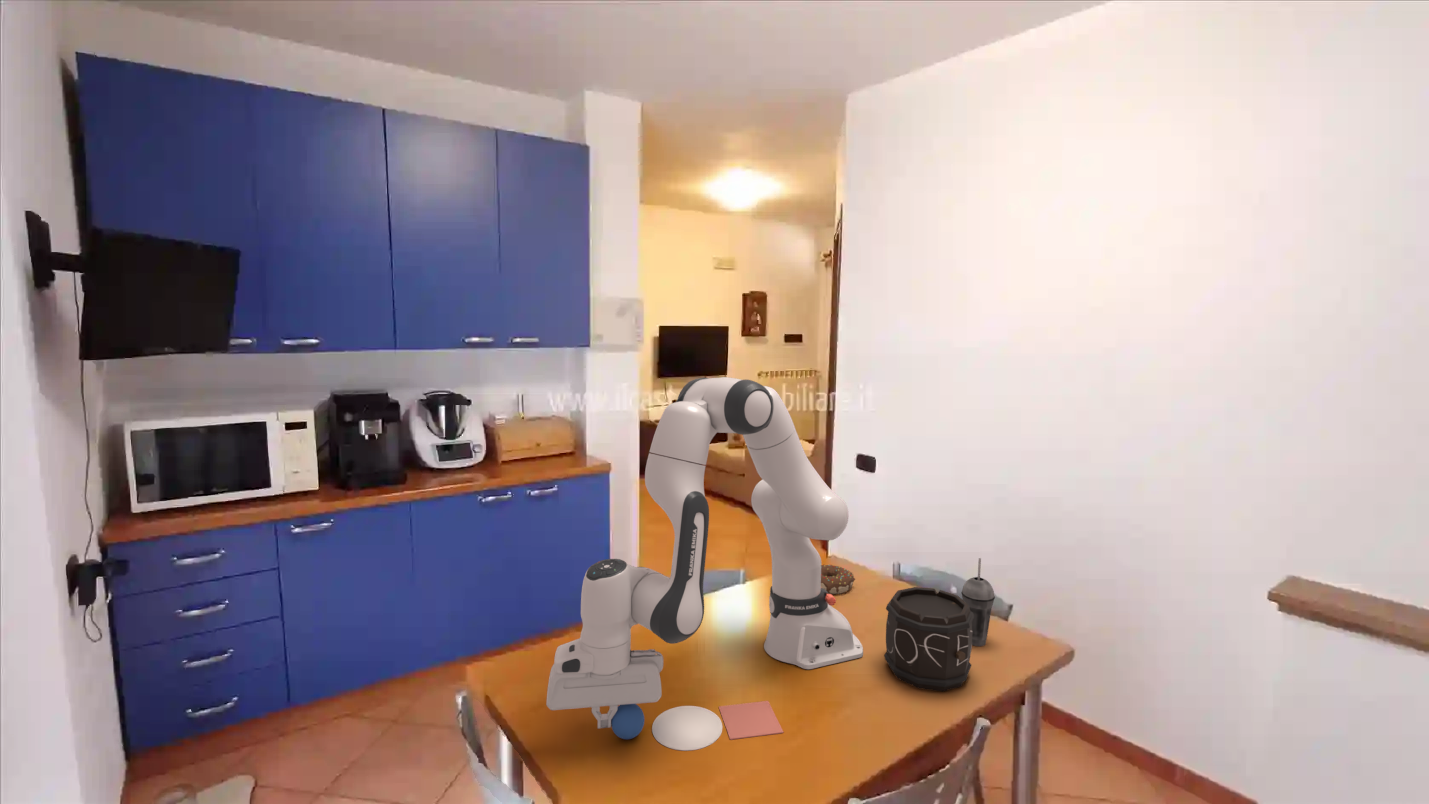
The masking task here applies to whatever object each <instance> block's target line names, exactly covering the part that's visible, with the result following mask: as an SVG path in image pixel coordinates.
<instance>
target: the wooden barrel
mask: <svg viewBox="0 0 1429 804" xmlns="http://www.w3.org/2000/svg"><path fill="white" fill-rule="evenodd" d="M885 609H886V611H887V618H886V624H885V649H886V652H885V654H884V655H883V657H884V660H885V662H886V663H887V664H888V667H889V668H890V670H891V671H892V673H893V674H894V676H895V677H896V679H897V680H900V681H902V682H904V683H905V684H908V685H909V686H913V687H914V688H916V689H919V690H920V689H921V690H925V691H926V690H928V691H934V692H936V691H937V692H946V691H949V690H953V689H956V688H960V687H962V686H963V683H964V682H966V681H967V678H968V676H969V674H970V673H969V672H970V670H971V667H972V664H971V661H970V659H971V654H972V647H973V645H972V621H973V618H974V614H973V612H971V611H970V607H969V605H968V604H967V603H966V602H964V601H963V599H962V598H961V597H960V596H959V595H957V594H954V593H951V592H949V591H945V590H941V589H939V591H938V592H937V590H936V589H935V588H931V587H930V588H929V587H920V586H913V587H907V588H903V589H899V590H897V591H896V592H895V593H894V595H893V596H892V597H891V598H890V600H889V602H888V603H887V604H886V607H885Z"/></svg>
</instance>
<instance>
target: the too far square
mask: <svg viewBox="0 0 1429 804" xmlns="http://www.w3.org/2000/svg"><path fill="white" fill-rule="evenodd" d="M718 709H719V711H720V714H721V718H722V720H723V723H724V726H725V728H726V733H727V735H728V738H729V740H731V741H732V740H740V739H746V738H755V737H762V736H770V735H778V734H784V730H783V728H782V726H781V724H780V722H779V720H778V718H777V716H776V714H775V712H774V710H773V707H772V706H771V703H770V702H769V700H764V701H763V700H762V701H755V702H746V703H744V702H743V703H737V704H729V705H720V706H718Z"/></svg>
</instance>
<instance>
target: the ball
mask: <svg viewBox="0 0 1429 804" xmlns="http://www.w3.org/2000/svg"><path fill="white" fill-rule="evenodd" d="M644 726H645V714H644V711H643V710H642V708H641V707H640V706H639V704H625V705H618V710H617V712H616V713H615V715H614V716H613V718H612V719H611V729H612V730H611V731H612V732H613V733H614V734H615V735H616V737H618V738H620V739H622V740H631V739H634V738H636V737H637V736H639V734H640V733H642V731H643V728H644Z"/></svg>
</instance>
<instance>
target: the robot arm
mask: <svg viewBox="0 0 1429 804" xmlns="http://www.w3.org/2000/svg"><path fill="white" fill-rule="evenodd" d="M789 412H790V411H789V410H788V408H787V406H786V404H785V403H784V401H783V400H782V398H781V396H780V395H779V393H778V392H777V391H776V390H775V389H774V388H773V387H771V386H768V385H767V386H766V385H762V384H761V383H759V382H756V381H755V380H751V379H740V378H736V377H726V376H723V377H710V378H709V377H698V378H695V379H692V380H690V381H688V382H687V383H686V384H685V385H684V386H683V387H682V388H681V390H680V392H679V394H678V397H677V399H676V401H675V402H673V403H671V404H669V405H668V406H666V407H665V409H664V410H663V412H662V415H661V417H660V419H659V421H658V424H657V426H656V429H655V431H654V435H653V438H652V441H651V444H650V449H649V452H648V456H647V459H646V465H645V471H644V485H645V487H646V490H647V492H648V494H649V496H650V497H651V499H653V501H654V502H655V503H656V504H657V505H658V506H659V507H660V508H661V509H662V510H663V511H664V512H665V514H666V515H667V517H668V519H669V520H670V522H671V524H672V527H673V532H674V541H673V542H674V543H673V552H672V560H671V561H672V562H671V570H670V571H671V572H670V577H669V576H666V575H664V574H663V573H661V572H658V571H656V570H654V569H652V568H649V567H644V566H634V565H631V564H629V563H627V562H626V561H625V560H623V559H620V558H608V559H607V558H606V559H602V560H599V561H597V562H595V563H593V564H591V566H589V567H588V568H587V570H586V572H585V575H584V577H583V580H582V587H581V594H580V598H581V599H580V617H581V623H582V629H581V632H580V637H579V638H576V639H574V640H571V641H569V642H566V643H563V644H560V645H558V646H557V648H556V651H555V655H554V659H553V660H554V662H553V664H552V666H551V669H550V672H549V678H548V685H547V689H546V690H547V692H546V693H547V694H546V707H547V708H548V709H549V710H550V711H561V710H563V711H564V710H572V709H573V710H574V709H583V708H584V709H587V708H591V714H592V715H593V717H594V718H595V719H596V720H597V729H605V728H607V729H608V728H612V726H611V719H612V718H613V716H614V715H615V713H616V712H617V710H618V706H619V705H625V704H636V705H639V704H647V703H650V704H651V703H657V702H659V700H660V699H661V698H662V693H663V692H662V681H661V676H660V673H661V672H662V671H663V669H664V656H663V654H662V653H661V652H659V651H657V650H656V649H653V648H649V649H643V650H642V649H634V650H631V639H632V638H631V637H632V627H634V626H636V625H640V626H641V627H644V628H645V629H647V630H649V631H651V632H652V633H653V634H654V635H655V636H657V637H659V639H661V640H663V642H665V643H667V644H672V645H675V644H679V643H681V642H684V641H686V640H687V639H689V638H690V637H692V636H693V635H694V634H695V633H696V632H697V631H698V630H699V628H700V627H701V624H702V623H703V619H704V614H705V598H704V597H705V595H704V577H705V567H706V556H707V546H708V537H709V535H708V534H709V525H710V508H709V507H710V506H709V503H708V499H707V498H706V496H705V495H706V494H705V485H704V484H705V483H704V482H705V472H706V467H707V461H708V456H709V450H710V443H711V442H712V440H713V439H714V437H715V436H716V434H717V433H719V434H721V433H723V434H724V433H725V434H737V435H741V436H742V437H743V440H744V442H745V445H746V447H747V450H748V453H749V456H750V457H751V460H752V462H753V465H754V467H755V469H756V473H757V474H758V475H759V477H760V478H761V480H760V481H759V482H757V483H756V484H755V486H754V488H753V491H752V493H751V499H750V500H751V501H750V502H751V507H752V510H753V512H754V513H755V514H756V516H757V517H758V518H759V520H760V521H761V524H762V527H763V529H764V532H765V536H766V538H767V541H768V544H769V545H768V546H769V549H770V555H771V556H770V557H771V586H770V589H769V596H768V597H769V601H768V602H769V604H768V605H769V606H768V607H769V614H770V615H769V617H770V618H769V626H768V630H767V634H766V639H765V641H764V643H763V648H764V651H765V652H766V653H767V654H768V655H769V656H770V657H771V658H773V659H775V660H778V661H780V662H783V663H787V664H791V665H794V666H795V665H796V666H798V667H799V668H802V669H804V670H813V669H817V668H821V667H825V666H829V665H833V664H837V663H839V664H840V663H843V662H846V661H851V660H855V659H859V658H862V657H864V647H863V644H862V643H861V641H860V640H859V638H858V637H857V636H856V635H855V634H854V633H853V630H852V626H851V623H850V622H849V621H848V619H847V618H846V616H844V615H843V613H841V612H840V611H839V610H837V609H836V608H835V607H833V606H834V605H835V604H836V603H837V599H836V598H835V596H834V594H828V592H827V591H826V590H825V589H823V588H822V587H821V565H822V558H821V556H820V553H819V552H818V550H817V549H816V548H815V546H814V544H813V543H812V541H811V539H812V540H819V541H833V540H836V539H838V537H840V536H841V535H842V534H843V532H844V531H845V530H846V528H847V526H848V522H849V509H848V505H847V503H846V502H845V500H844V499H842V497H840V496H839V495H838V494H836V492H834V491H833V490H832V489H831V488H830V487H829V486H828V485H827V483H826V482H825V481H824V480H823V478H822V476H820V474H819V473H818V472H817V470H816V469H815V468H814V466H813V464H812V463H811V461H810V459H808V456H807V454H806V452H805V450H804V448H803V445H802V443H801V439H800V438H799V434H798V432H797V430H796V427H795V424H794V421H793V419H792V416H791V415H790V413H789ZM601 707H609V710H608V711H607V713H601V711H600V710H601Z"/></svg>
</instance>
